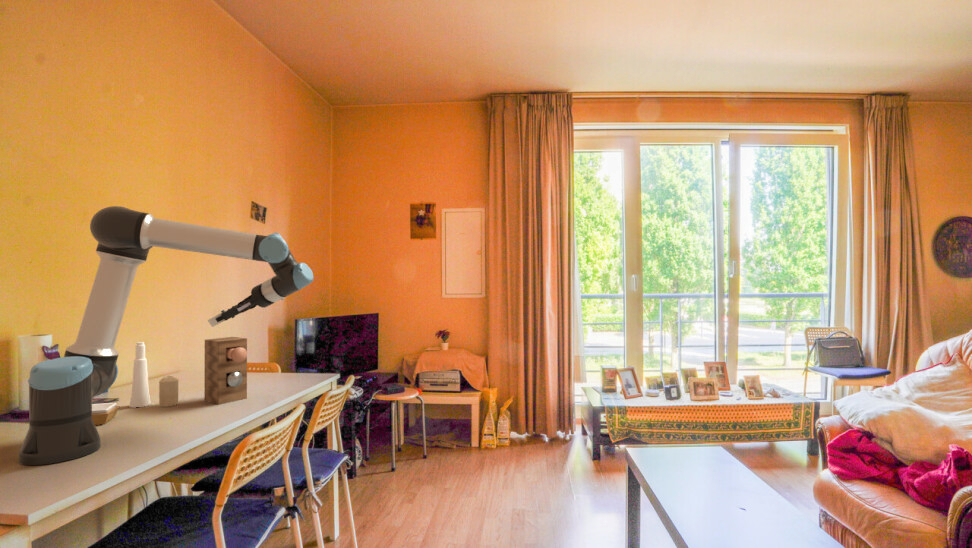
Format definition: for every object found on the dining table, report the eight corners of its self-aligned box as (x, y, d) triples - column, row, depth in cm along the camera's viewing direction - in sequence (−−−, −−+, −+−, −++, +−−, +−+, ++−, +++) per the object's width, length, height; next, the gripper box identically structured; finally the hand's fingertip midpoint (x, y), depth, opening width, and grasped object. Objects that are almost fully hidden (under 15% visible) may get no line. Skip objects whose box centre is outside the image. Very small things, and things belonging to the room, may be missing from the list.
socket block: (246, 398, 170) (246, 338, 171) (218, 404, 162) (219, 341, 162) (232, 394, 176) (232, 336, 176) (204, 400, 167) (204, 339, 168)
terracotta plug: (247, 361, 166) (247, 346, 166) (232, 363, 162) (232, 348, 162) (230, 358, 172) (230, 344, 172) (216, 360, 168) (216, 346, 168)
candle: (181, 404, 163) (181, 375, 163) (163, 407, 158) (163, 378, 158) (173, 402, 166) (173, 374, 166) (156, 405, 161) (156, 376, 161)
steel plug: (242, 385, 167) (242, 370, 168) (228, 388, 163) (228, 373, 163) (226, 381, 174) (226, 367, 174) (212, 384, 169) (212, 370, 169)
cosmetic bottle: (143, 402, 165) (143, 340, 165) (155, 404, 163) (155, 341, 163) (125, 407, 159) (125, 343, 159) (137, 408, 157) (137, 343, 157)
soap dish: (55, 431, 135) (55, 413, 135) (70, 421, 144) (70, 405, 144) (108, 425, 140) (108, 408, 140) (119, 416, 149) (119, 401, 149)
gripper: (265, 309, 145) (206, 340, 149) (284, 295, 158) (229, 324, 161) (251, 289, 143) (191, 320, 147) (271, 277, 156) (216, 306, 160)
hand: (211, 322), depth 154 cm, fingers closed
